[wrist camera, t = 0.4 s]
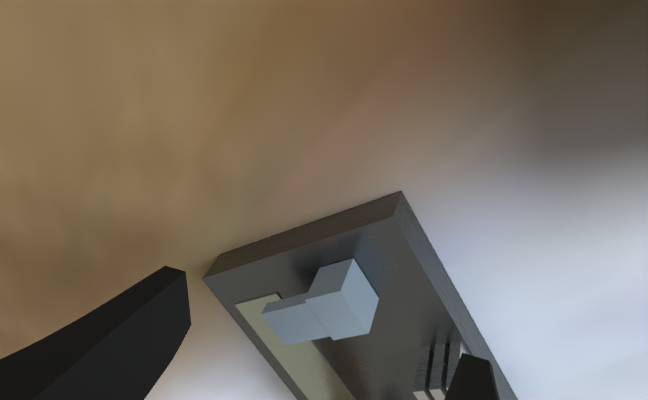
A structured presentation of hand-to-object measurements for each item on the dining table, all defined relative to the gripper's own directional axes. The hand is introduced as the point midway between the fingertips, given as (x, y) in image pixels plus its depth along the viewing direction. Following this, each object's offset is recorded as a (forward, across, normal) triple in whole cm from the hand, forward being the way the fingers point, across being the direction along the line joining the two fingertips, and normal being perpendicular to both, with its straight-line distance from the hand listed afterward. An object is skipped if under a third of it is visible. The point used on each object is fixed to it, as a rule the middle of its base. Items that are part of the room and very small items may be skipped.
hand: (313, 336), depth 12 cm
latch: (+8, +2, +6) cm, 10 cm away
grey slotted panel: (+10, -1, +10) cm, 14 cm away
